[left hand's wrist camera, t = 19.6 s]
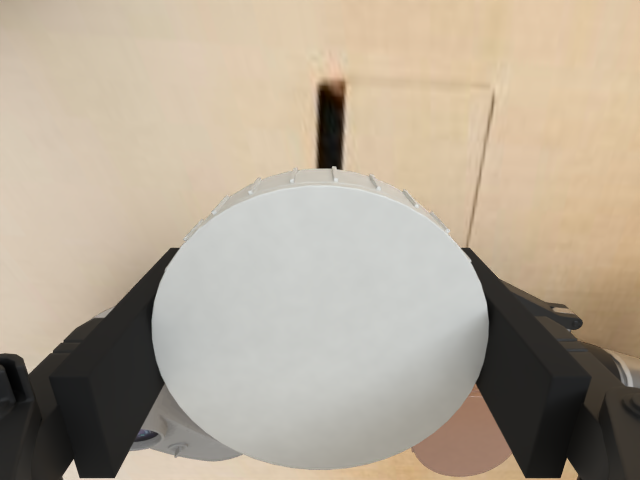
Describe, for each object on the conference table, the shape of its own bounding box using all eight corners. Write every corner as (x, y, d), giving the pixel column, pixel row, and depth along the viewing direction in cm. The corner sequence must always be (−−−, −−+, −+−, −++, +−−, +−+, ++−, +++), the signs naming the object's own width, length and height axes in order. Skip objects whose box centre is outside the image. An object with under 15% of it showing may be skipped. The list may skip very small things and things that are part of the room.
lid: (119, 319, 12) (83, 361, 10) (304, 92, 10) (301, 93, 8) (330, 456, 15) (331, 513, 13) (524, 297, 12) (563, 337, 10)
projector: (83, 401, 47) (-13, 528, 34) (114, 236, 40) (6, 313, 26) (257, 447, 50) (234, 581, 36) (318, 301, 42) (318, 402, 29)
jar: (441, 263, 41) (523, 380, 24) (451, 326, 44) (530, 469, 27) (366, 280, 42) (396, 404, 25) (380, 341, 44) (416, 489, 28)
